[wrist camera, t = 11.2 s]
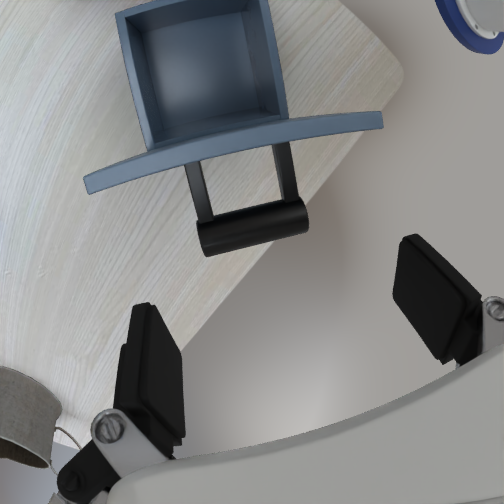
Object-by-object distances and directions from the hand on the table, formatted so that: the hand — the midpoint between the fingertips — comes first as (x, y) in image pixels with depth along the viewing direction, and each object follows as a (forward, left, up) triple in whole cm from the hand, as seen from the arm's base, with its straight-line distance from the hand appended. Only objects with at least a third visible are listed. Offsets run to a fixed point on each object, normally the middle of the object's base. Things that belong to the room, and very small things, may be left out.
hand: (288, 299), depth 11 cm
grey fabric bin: (+61, +44, -28) cm, 80 cm away
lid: (0, -4, -11) cm, 11 cm away
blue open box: (0, -9, -28) cm, 29 cm away
